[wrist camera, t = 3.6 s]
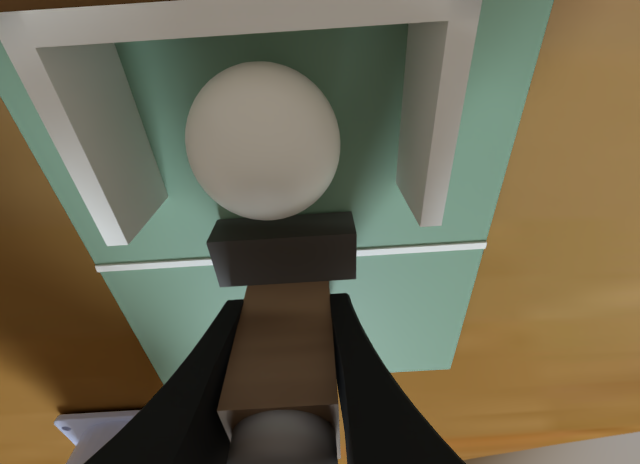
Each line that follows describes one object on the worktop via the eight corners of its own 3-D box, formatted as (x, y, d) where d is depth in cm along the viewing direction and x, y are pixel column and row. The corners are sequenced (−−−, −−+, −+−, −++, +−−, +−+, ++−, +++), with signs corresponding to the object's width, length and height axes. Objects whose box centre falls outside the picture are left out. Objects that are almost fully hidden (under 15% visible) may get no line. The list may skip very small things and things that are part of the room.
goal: (412, 181, 11) (441, 225, 9) (151, 197, 11) (107, 246, 9) (433, -6, 8) (485, -21, 6) (82, 17, 8) (-14, 13, 6)
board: (446, 359, 18) (450, 370, 17) (168, 375, 18) (163, 387, 18) (544, -17, 9) (561, -20, 8) (-23, 21, 9) (-46, 20, 8)
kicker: (351, 306, 14) (380, 498, 9) (242, 313, 14) (196, 509, 9) (351, 211, 12) (393, 396, 6) (217, 219, 12) (124, 411, 6)
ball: (350, 235, 7) (343, 33, 6) (174, 246, 7) (132, 48, 6) (338, 199, 11) (332, 72, 10) (223, 206, 11) (204, 80, 10)
